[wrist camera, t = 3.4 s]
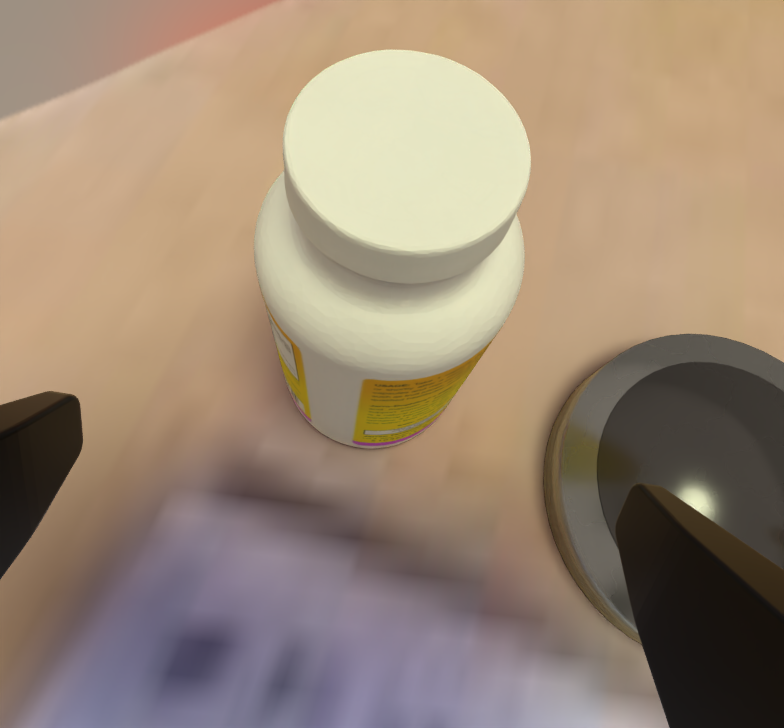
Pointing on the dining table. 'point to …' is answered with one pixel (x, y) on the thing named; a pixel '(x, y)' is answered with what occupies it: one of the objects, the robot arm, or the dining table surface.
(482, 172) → the supplement bottle
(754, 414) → the dark grey bowl
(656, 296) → the dining table surface
